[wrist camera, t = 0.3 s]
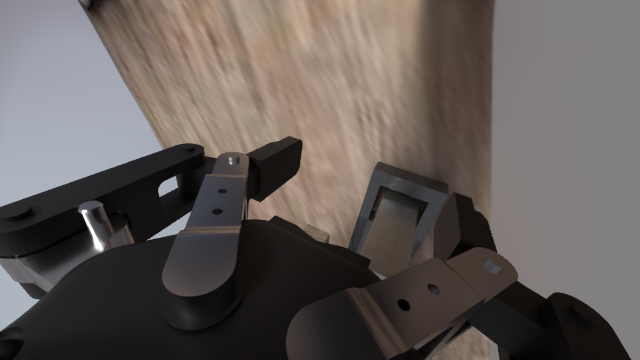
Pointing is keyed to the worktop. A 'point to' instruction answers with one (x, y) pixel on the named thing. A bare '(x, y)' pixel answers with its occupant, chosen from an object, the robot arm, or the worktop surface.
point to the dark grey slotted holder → (408, 185)
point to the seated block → (391, 234)
